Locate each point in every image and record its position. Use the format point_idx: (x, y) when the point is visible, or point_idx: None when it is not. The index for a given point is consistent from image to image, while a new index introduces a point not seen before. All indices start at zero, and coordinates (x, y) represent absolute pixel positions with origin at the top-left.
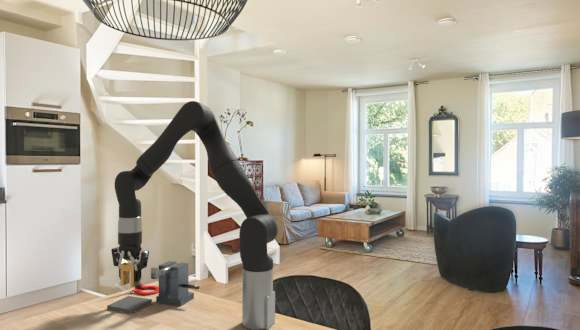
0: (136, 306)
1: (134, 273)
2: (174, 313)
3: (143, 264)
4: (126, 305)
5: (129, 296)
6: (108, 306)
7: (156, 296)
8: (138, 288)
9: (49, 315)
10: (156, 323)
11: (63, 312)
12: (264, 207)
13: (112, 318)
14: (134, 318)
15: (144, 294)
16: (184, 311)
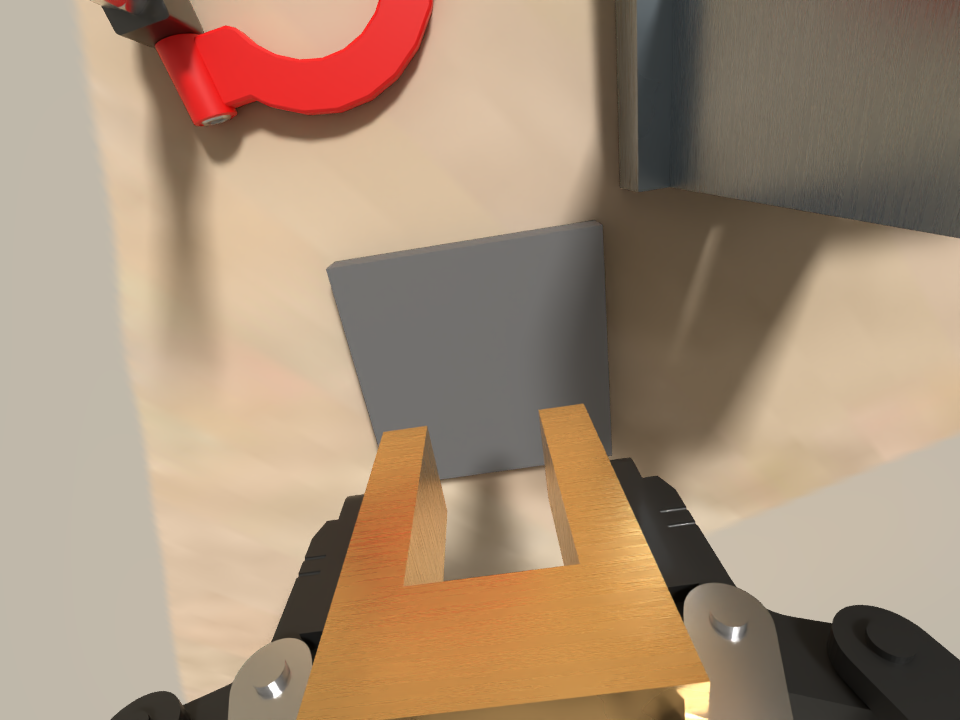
0: (596, 401)
1: None
2: (906, 295)
3: (889, 717)
4: (510, 422)
5: (351, 275)
6: None
7: (640, 189)
8: (191, 29)
9: (210, 643)
10: (855, 463)
11: (222, 598)
12: None
13: (549, 530)
14: (675, 476)
15: (372, 99)
16: None
